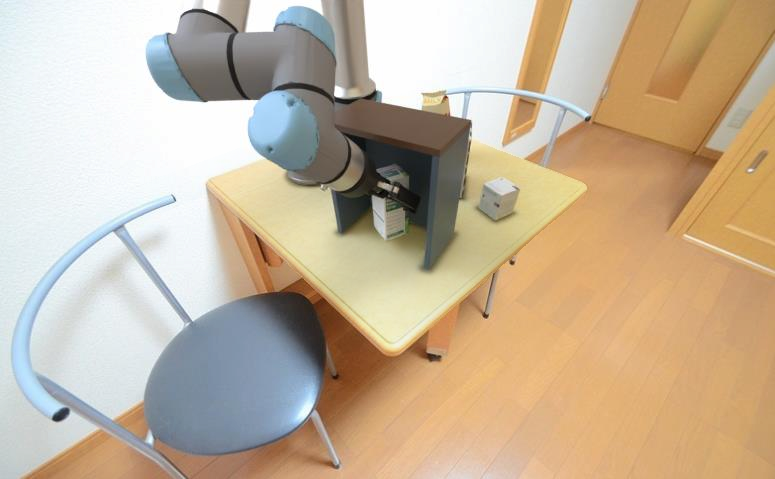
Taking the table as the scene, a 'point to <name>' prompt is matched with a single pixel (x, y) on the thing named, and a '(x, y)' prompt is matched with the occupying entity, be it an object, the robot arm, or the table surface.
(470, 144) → the candy bar box
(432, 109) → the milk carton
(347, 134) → the cupboard
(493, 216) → the product carton
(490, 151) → the table surface
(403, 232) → the syrup box
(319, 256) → the table surface
